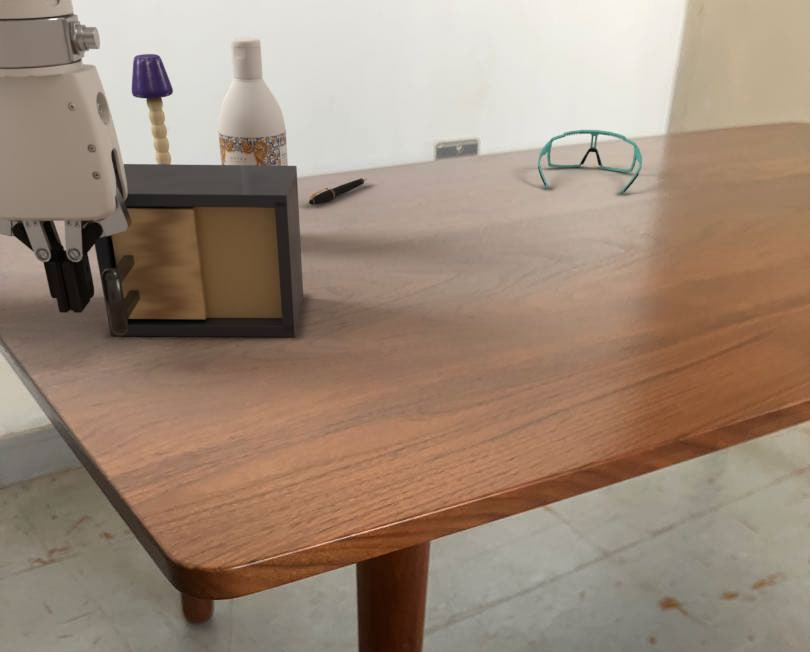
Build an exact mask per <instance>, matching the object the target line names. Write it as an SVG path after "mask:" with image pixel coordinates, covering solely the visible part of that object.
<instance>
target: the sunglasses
mask: <svg viewBox="0 0 810 652" xmlns="http://www.w3.org/2000/svg"><path fill="white" fill-rule="evenodd" d="M574 135H591V139H590V140H591V141H590V145H589V146H590V147H589V149H587V151H586V153H585V154H584V155H583V158H581V160H580V162H579V164H555V163H552V161H551V153H552V152H551V151H552V147H553V146H552V145H553V142H554V141H556V140H559V139H563V138H566V136H567V137H569V136H574ZM599 135H601V136H602V135H603V136H608V137H613V138H616V139H620V140H622V141H624V142H626V143H628V144H630V145H631V146H633V158H632V163H631V166H630V168H625V169H624V168H614V167H607V166H603V163H602V159H601V157H600V154H599V150H598V148H597V144H598V143H597V141H598V136H599ZM590 153H595V156H596V161H597V165H598V167H600V169H602V170H606V171H611V172H612V171H613V172H619V173H631V172H633V171H634V169H635V166H636V162H638V168H637V169H636V172H635V173H634V175H633V176H632V178H630V180H629V182H628V183H627V184H626V185H625V186H624V187H623V188H622V189H621V191H620V193H621V195H623V194H624V193H626V192H627V190H628V189H629V188H630V187H631V186H632V185H633V183H634V182H635V180H637V178H638V176H639V175H640V172H641V169H642V165H643V155H642V153H641V150H640V148H639V147H638V145H637V143H636V142H635V141H632V140H631V139H628V138H627V137H626V136H625V135H622V134H621V133H616V132H613V131H607V130H601V129H579V130H578V129H577V130H570V131H565V132H563V133H562V134H559V135H556V136H554V137H553V136H552V137H551V138H550V139H549V141H548V142H547V141H546V143H545V144H544V146H543V147H542V148H541V150H540V152H539V156H538V160H537V169H538V173H539V176H540V179H541V181H542V183H543V186H544V187H545V189H549V184H548V181H547V179H546V178H545V175H544V172H543V168H542V165H541V160H542V157H543V156H546V161H547V165H548V167H549V168H559V169H560V168H561V169H562V168H565V169H569V168H571V169H572V168H574V169H575V168H580V167H582V166H583V165H584V164H585V162H586V160H587V158H588V156H589V154H590Z"/></svg>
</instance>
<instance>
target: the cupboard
mask: <svg viewBox="0 0 810 652" xmlns="http://www.w3.org/2000/svg"><path fill="white" fill-rule="evenodd" d="M123 165H124V170H125V175H126V181H127V189H128V194H127V198H126V200H125V201H124V203H125V206H151V207H195V215H196V224H197V233H198V241H199V250H200V259H201V267H202V276H203V285H204V294H205V302H206V311H207V317H206V319H128V325H129V328H128V331H127V332H126V333H125V334H123V335H117V334H115V333H114V332H113V331H112V330H111V326H110V321H109V315H108V309H107V304H106V298H105V293H104V287H103V281H102V273H103V271H104V270H105V269H107V268H113V269H114V268H115V267H116V262H115V256H114V250H113V244H112V238H111V235H110V236H105V237H101V238H99V239H98V240H97V242H96V243H95V244H94V249H95V254H96V255H95V256H96V261H97V267H98V271H99V277H100V282H101V288H102V294H103V300H104V305H105V311H106V316H107V322H108V327H109V333H110V334H109V335H110V336H112V337H228V338H231V337H232V338H233V337H237V338H238V337H242V338H246V337H248V338H249V337H250V338H254V337H255V338H295V337H296V333H297V328H298V323H299V318H300V315H301V308H302V304H303V300H304V283H303V263H302V245H301V227H300V208H299V207H300V206H299V205H300V204H299V187H298V169H297V165H288V166H270V165H222V164H171V163H170V164H158V163H155V164H154V163H123ZM117 175H118V174H117Z"/></svg>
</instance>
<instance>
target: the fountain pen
mask: <svg viewBox="0 0 810 652" xmlns="http://www.w3.org/2000/svg"><path fill="white" fill-rule="evenodd" d="M367 180H368V177H366V178H361V177H360V178H359V179H355V180H352V181H349V182H346V183H343V184H340V185H338V186H336V187H333V188H329V187H324V188H322V189H320V190H318V191H316V192H314V193H312V194H311V195H310V196H309V201H308V204H309V205H311V206H316V205H321V204H323V203H326V202H329V201H331V200H333V199H335V198H337V197H339V196H342V195H344V194H346V193H348V192H351V191H352V190H354V189H356V188H358V187H360V186H362V185H364V184H365V182H367Z"/></svg>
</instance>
